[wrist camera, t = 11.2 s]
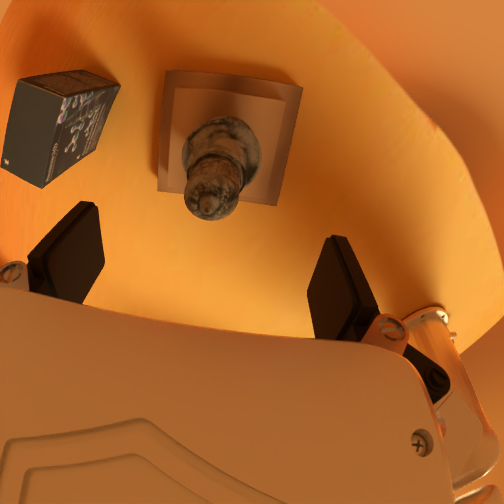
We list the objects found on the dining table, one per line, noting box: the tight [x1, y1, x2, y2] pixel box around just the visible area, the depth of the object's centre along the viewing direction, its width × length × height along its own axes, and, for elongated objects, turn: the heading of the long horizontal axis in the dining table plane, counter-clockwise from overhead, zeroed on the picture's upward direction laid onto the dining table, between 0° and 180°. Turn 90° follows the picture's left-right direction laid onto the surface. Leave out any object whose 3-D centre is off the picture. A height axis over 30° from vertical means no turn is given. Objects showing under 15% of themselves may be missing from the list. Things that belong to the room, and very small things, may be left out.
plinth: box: [158, 71, 303, 206], centre depth 24 cm, size 12×12×4 cm
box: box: [0, 70, 121, 189], centre depth 19 cm, size 8×6×11 cm
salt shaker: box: [181, 116, 262, 221], centre depth 18 cm, size 6×6×12 cm
